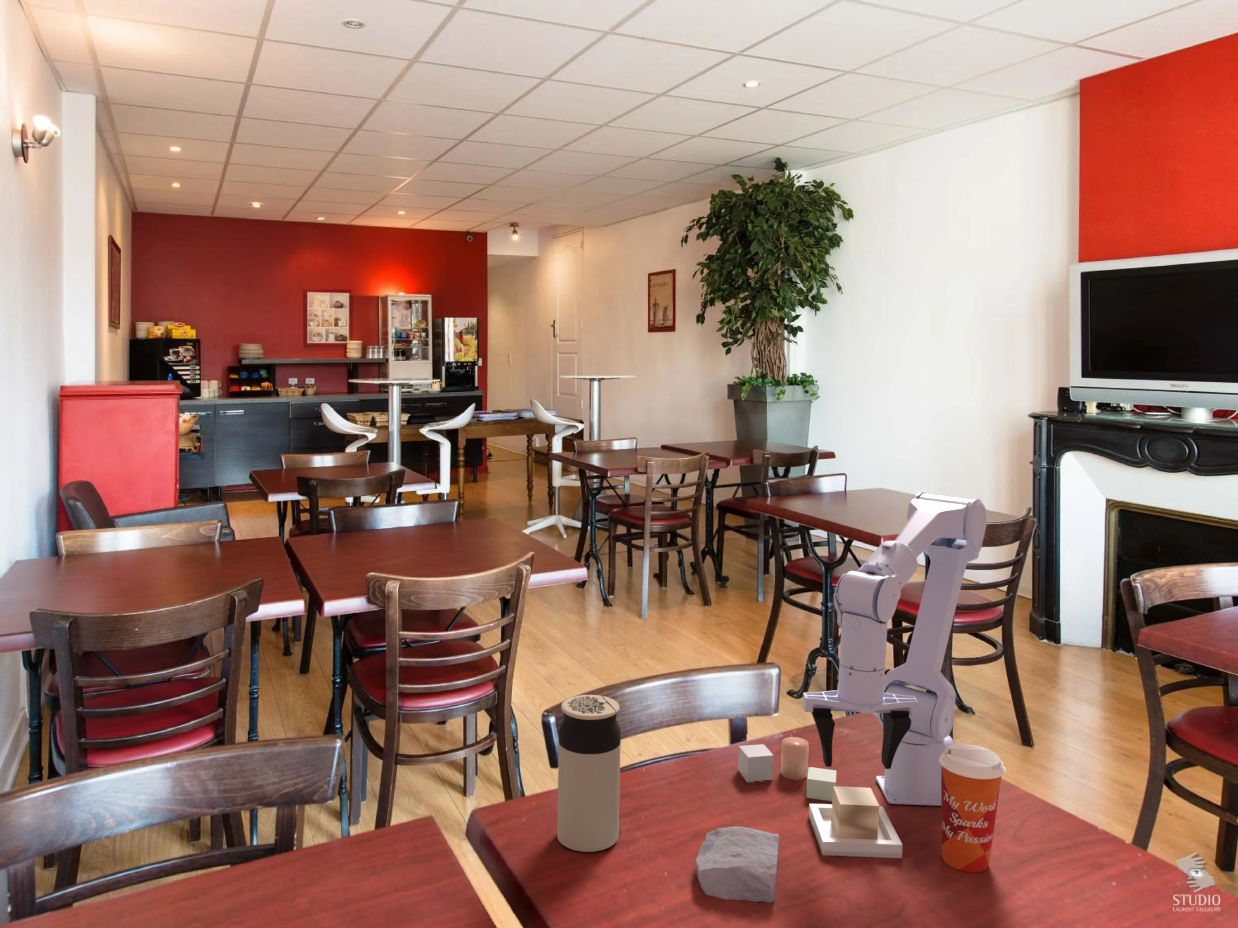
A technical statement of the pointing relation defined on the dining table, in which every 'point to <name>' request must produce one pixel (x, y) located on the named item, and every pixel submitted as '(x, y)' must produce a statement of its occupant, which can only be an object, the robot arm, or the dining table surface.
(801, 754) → the terracotta cylinder
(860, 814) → the beech cube
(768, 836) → the stone block
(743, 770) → the grey block
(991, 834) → the paper cup
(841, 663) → the robot arm
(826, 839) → the white square tray
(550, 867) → the dining table surface
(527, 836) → the dining table surface
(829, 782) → the sage block
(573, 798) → the travel mug
